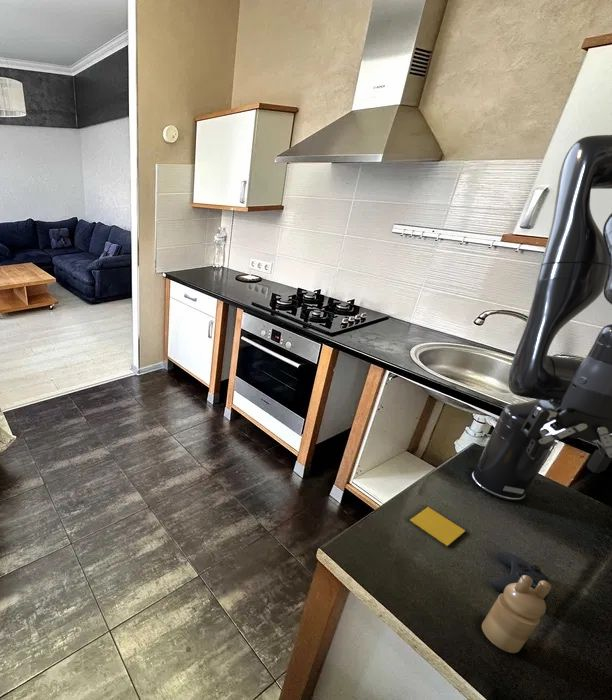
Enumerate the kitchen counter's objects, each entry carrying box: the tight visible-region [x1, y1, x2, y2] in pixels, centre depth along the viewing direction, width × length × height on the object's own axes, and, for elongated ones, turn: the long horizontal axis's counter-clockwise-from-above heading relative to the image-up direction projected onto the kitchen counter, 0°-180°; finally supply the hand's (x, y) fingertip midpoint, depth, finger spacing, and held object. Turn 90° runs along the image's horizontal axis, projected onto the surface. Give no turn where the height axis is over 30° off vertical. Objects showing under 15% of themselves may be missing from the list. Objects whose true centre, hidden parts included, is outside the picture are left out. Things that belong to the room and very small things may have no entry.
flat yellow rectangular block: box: [409, 506, 466, 547], centre depth 77 cm, size 7×7×1 cm
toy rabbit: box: [481, 575, 552, 654], centre depth 56 cm, size 5×5×13 cm
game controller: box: [490, 550, 550, 602], centre depth 65 cm, size 10×5×6 cm
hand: (561, 464), depth 69 cm, fingers open, 8 cm apart
